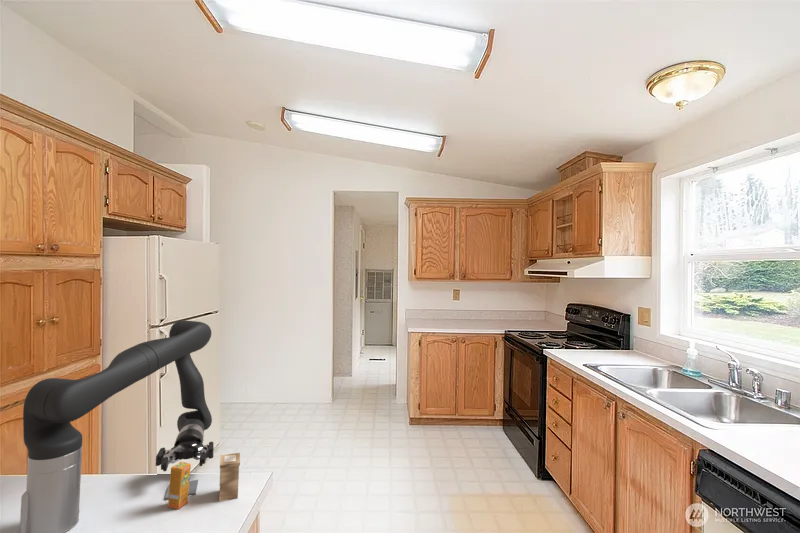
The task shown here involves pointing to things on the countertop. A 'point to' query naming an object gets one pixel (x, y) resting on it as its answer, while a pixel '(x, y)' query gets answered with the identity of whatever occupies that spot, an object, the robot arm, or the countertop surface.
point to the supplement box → (179, 485)
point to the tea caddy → (229, 476)
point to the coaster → (192, 489)
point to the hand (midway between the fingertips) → (183, 465)
